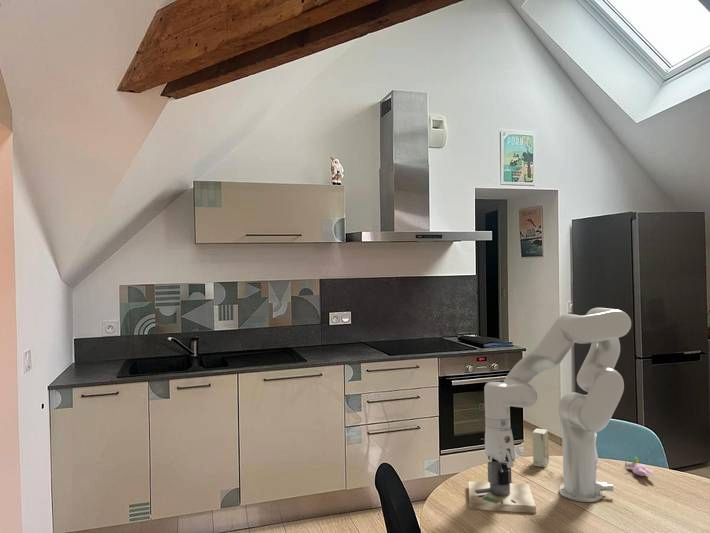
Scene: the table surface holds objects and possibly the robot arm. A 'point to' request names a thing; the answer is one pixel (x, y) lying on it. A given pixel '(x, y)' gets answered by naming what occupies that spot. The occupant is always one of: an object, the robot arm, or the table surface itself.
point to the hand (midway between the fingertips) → (499, 480)
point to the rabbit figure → (638, 468)
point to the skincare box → (540, 447)
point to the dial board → (502, 498)
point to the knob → (496, 481)
